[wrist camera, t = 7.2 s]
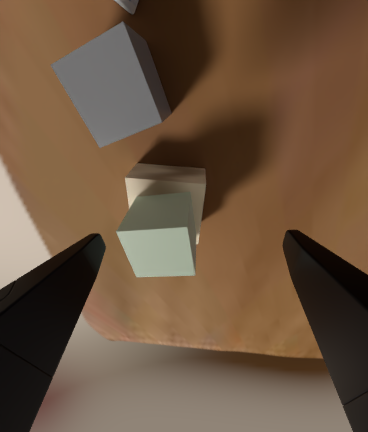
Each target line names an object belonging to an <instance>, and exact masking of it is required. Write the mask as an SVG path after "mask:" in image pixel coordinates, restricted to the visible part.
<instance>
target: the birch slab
mask: <svg viewBox="0 0 368 432" xmlns="http://www.w3.org/2000/svg"><path fill="white" fill-rule="evenodd" d="M125 181H126V188H127V195H128V203H129V209H130V207H131V205H132V204H133V202H134V200H135V198H136V197H140V196H150V195H161V194H172V193H183V192H191V199H192V206H193V214H194V221H195V229H196V244H198V241H199V234H200V226H201V219H202V212H203V204H204V197H205V189H206V173H205V168H192V167H180V166H167V165H155V164H142V163H137V164H136V165H135V166H134V167H133V169H132V170H131V171H130V172H129V174H128V175H127V176H126V177H125Z"/></svg>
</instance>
